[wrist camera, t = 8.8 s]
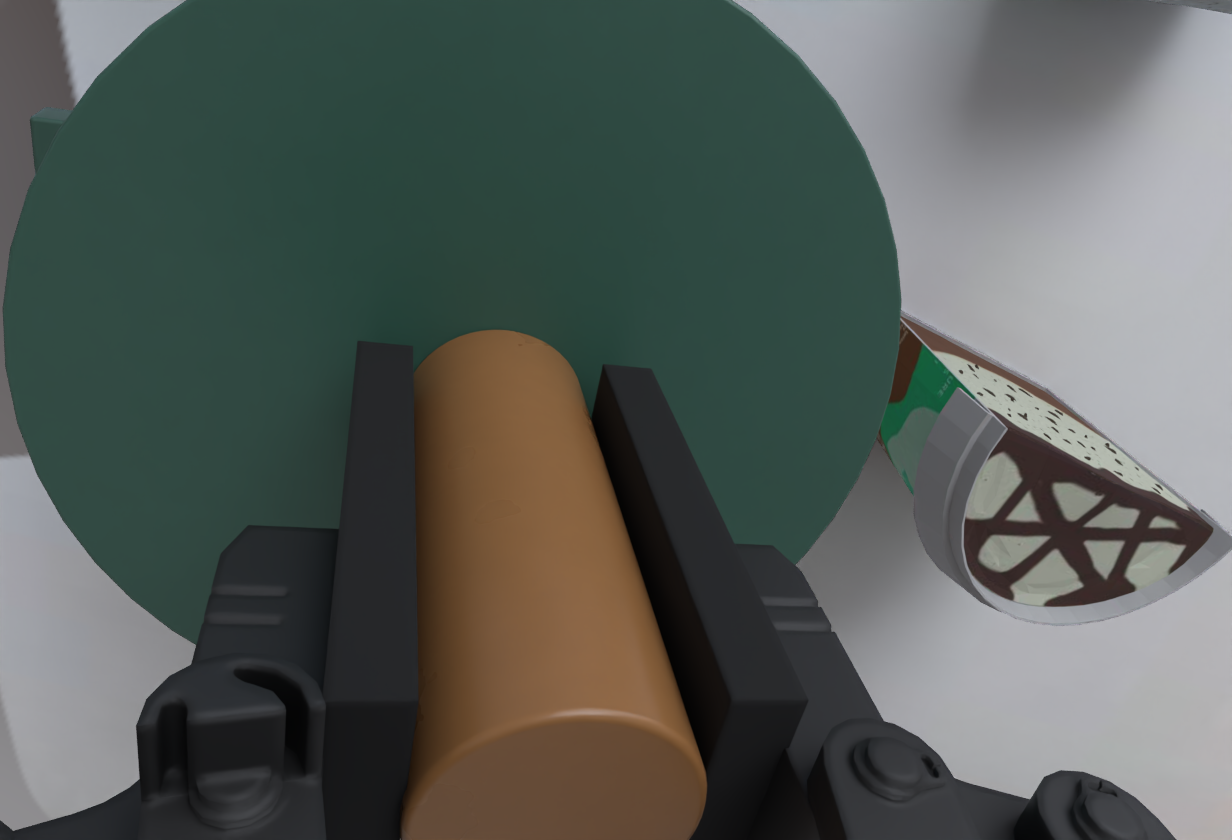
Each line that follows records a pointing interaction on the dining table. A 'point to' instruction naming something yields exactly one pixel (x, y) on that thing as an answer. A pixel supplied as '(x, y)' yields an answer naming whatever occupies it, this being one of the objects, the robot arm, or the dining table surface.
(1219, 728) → the dining table surface
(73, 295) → the canister lid
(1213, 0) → the ceramic mug
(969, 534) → the food container
